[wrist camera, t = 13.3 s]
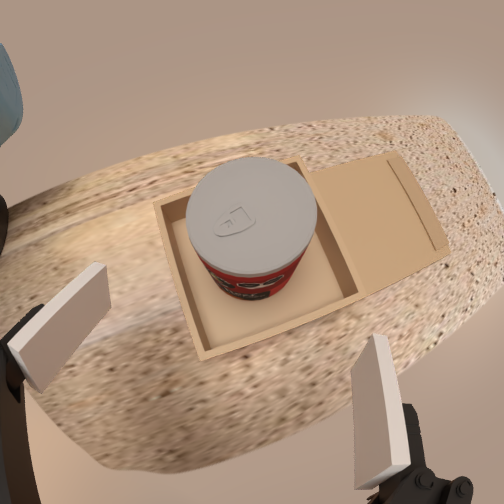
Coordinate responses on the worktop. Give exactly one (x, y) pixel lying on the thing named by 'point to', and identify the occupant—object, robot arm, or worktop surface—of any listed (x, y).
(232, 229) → the canned food
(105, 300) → the robot arm
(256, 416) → the worktop surface
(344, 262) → the mailer box
